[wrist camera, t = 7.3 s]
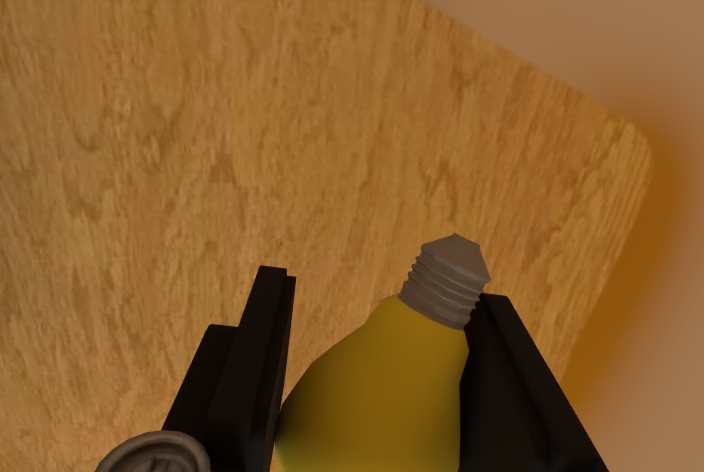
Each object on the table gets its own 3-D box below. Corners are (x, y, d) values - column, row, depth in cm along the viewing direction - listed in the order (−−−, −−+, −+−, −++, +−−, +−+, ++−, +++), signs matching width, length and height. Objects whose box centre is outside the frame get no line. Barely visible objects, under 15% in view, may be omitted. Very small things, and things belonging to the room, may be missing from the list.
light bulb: (280, 429, 11) (214, 528, 8) (390, 202, 10) (374, 195, 7) (408, 500, 11) (402, 641, 7) (530, 269, 10) (590, 298, 6)
